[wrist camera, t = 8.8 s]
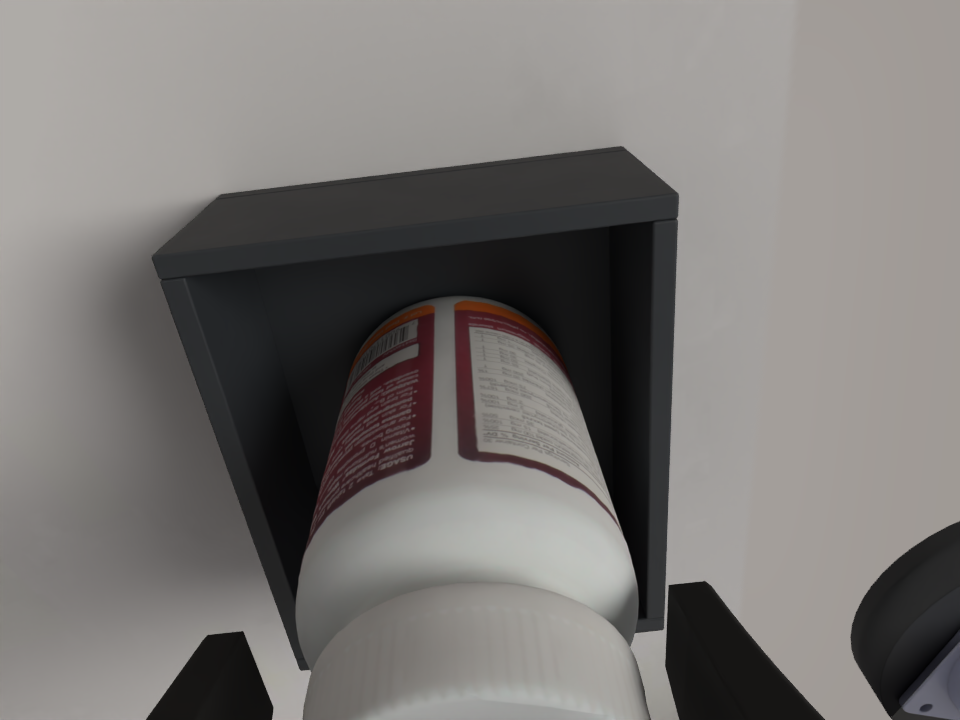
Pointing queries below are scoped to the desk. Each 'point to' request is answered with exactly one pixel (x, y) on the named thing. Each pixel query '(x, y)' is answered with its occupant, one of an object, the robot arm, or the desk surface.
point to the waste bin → (419, 277)
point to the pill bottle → (465, 535)
